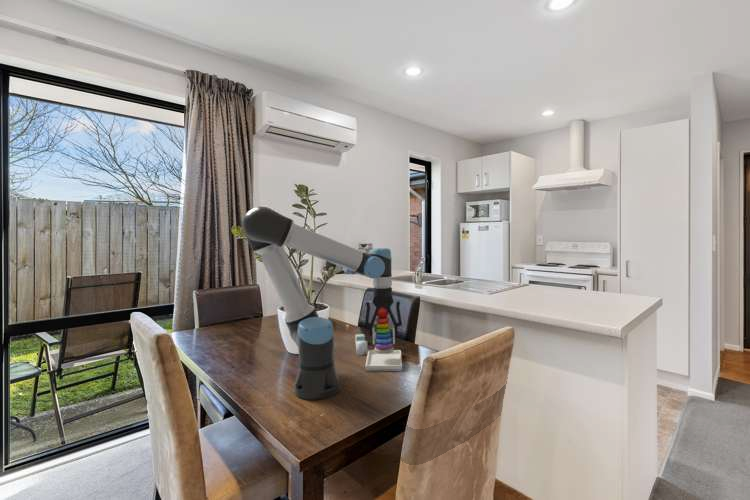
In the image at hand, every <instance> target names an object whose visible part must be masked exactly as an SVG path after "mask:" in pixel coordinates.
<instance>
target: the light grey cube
mask: <svg viewBox="0 0 750 500" xmlns="http://www.w3.org/2000/svg"><path fill="white" fill-rule="evenodd" d="M368 350H369V349H368V341H367V340H365V341H364V340H361V341H357V342H356V343H355V354H356V355H357V356H367V354H368Z"/></svg>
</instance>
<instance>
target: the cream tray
mask: <svg viewBox="0 0 750 500" xmlns="http://www.w3.org/2000/svg"><path fill="white" fill-rule="evenodd" d="M367 350H368V354H366V361H365V369H364V371H365V372H402V371H403V362H402V361H403V359H402V350H401V349H394V351H393V352H392V353H390V354H378V353H376V352H375V350H374V349H372V350H371V349H367Z"/></svg>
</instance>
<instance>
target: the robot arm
mask: <svg viewBox="0 0 750 500" xmlns="http://www.w3.org/2000/svg"><path fill="white" fill-rule="evenodd" d="M240 226H241V231H242V233H243V235H244V236H245V239H247V242H248V244H249V246H250V248H251V251H252V252H253V253H255V254H257V255H259V257H260V259H261V261H262V263H263V266H264V268H265V270H266V273H267V274H268V277H269V278H270V281H271V284H272V285H273V287H274V290H275V292H276V294H277V297H278V299H279V301H280V303H281V305H282V307H283V309H284V312H285V314H286V316H285V318H284V322H285V324H286V327H287V328H288V331H289V335H290V337H291V339H292V340H293V342H294V343H295V345H296V347H297V348H298V372H297V375H296V378H295V382H294V387H293V389H294V394H295V396H297V397H298V398H300V399H304V400H309V401H310V400H314V401H315V400H322V399H328V398H330V397H333V396H334V395H336V394H337V393H338V392H339V391H340V389H341V382H340V378H339V375H338V372H337V370H336V367H335V352H334V351H335V349H334V348H335V347H334V345H335V343H334V342H335V341H334V340H335V338H334V336H335V335H334V333H335V332H334V326H333V323H332V321H331V320H330V319H328V318H327V317H324V318H323V317H322V316H321V317H320V316H319V315H318V312H317V310H316V307H315V306H314V305H312V304H309V302H308V299H307V297H306V295H305V293H304V290H303V289H302V286H301V283H300V282H299V279H298V277H297V274H296V273H295V271H294V268H293V266H292V264H291V261H290V259H289V257H288V255H287V252H286V250H285V248H284V247H288V248H291V249H294V250H297V251H300V252H302V253H304V254H307V255H309V256H312V257H315V258H317V259H321V260H323V261H326V262H327V263H328V262H329V263H330V264H333V265H336V266H339V267H341V268H342V269H343V272H344V274H345V275H351V276H352V275H360V276H364V277H366V278H369V279H372V284H373V285H372V286H373V293H372V294H373V295H372V296H373V299H371V300H367V301H365V305H366V312H365V313H366V314H365V320H364V321H365V322H364V323H365V324H364V326H365V327H368V328H369V336H372V345H375V332H376V328H375V327H376V325H375V326H374V324H375V321H376V320H377V317H378V316H377V312H378V311H379V308H381V307H384V308H386V309H387V311H388V316H389V317H390V319H391V322H392V324H393V325H392V342H393V345H395V344H396V337H395V336H398V330H399V329H398V328H399V327H401V326H402V325H403V324H402V323H403V322H402V316H401V311H400V303H401V301H400V300H394V298H393V288H392V286H393V275H392V261H393V259H392V252H391V251H392V250H391V249H390V248H387V247H382V248H380V247H379V248H373V249H372V250H371V251H372V252H371V253H366V252H363V251H362V250H359V249H356V248H354V247H351V246H349V245H346V244H344V243H342V242H339V241H337V240H334V239H332V238H330V237H327V236H324V235H323V234H320V233H317V232H315V231H312V230H310V229H308V228H305V227H303V226H300V225H298V224H296V223H295V221H294V219H292V218H289V217H287V216H286V215H285V216H284V215H283V214H280V213H279V212H277V211H276V210H274V209H271V208H270V207H266V206H255V207H254V208H251V209H250V210H248V211H247V212H246V213H245V215H244V216H243V217H242V220H241V225H240ZM393 304H394V305H393ZM372 305H374V307H375V310H374V312H373V314H372V319H371V321H370V313H371V312H370V311H371V307H372ZM392 305H393V306H395V308H396V315H397V320H396V318H395V316H394V313H393V310H392V309H391V307H392ZM369 321H370V322H369ZM397 321H398V322H397Z"/></svg>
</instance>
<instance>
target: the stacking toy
mask: <svg viewBox="0 0 750 500" xmlns="http://www.w3.org/2000/svg"><path fill="white" fill-rule="evenodd" d="M388 316H389V313H388V311H387V309H386V308H384V307H381V308H379V311H378V312H377V316H376V319H375V321H376V324H375V327H376V328H375V332H377V333H376V338H375V341H376V343H375V344H374V349H373V350H375V352H376V353H378V354H390V353H392V352H393V351H394V350H395V348H394V344H393V333H392V332H391V327H390V322H389V321H390V319H389V317H388Z"/></svg>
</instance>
